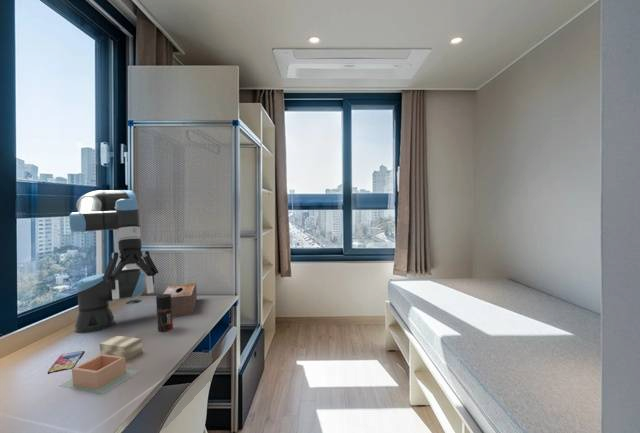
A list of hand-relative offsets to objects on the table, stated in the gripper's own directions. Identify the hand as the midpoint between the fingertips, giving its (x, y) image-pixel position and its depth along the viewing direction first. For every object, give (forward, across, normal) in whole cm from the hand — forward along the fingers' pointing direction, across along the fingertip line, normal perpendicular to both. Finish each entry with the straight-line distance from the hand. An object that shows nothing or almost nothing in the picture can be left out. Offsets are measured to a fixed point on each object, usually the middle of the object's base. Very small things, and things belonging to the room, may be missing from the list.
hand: (134, 296), depth 120 cm
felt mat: (+24, -14, -1) cm, 28 cm away
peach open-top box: (+24, -14, -1) cm, 28 cm away
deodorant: (+17, +23, +13) cm, 31 cm away
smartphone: (+20, -12, +22) cm, 32 cm away
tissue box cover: (+11, +46, +30) cm, 56 cm away
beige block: (+21, -1, +8) cm, 23 cm away
